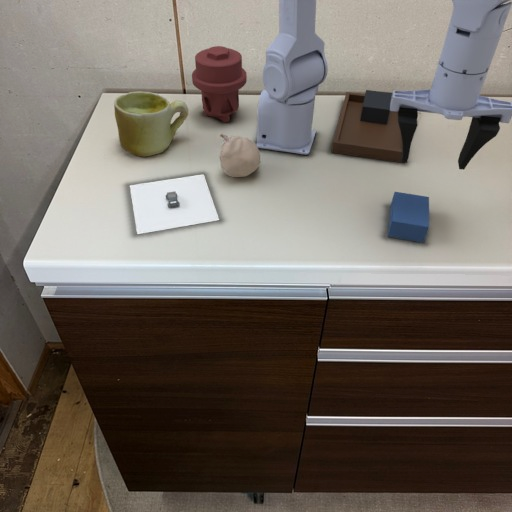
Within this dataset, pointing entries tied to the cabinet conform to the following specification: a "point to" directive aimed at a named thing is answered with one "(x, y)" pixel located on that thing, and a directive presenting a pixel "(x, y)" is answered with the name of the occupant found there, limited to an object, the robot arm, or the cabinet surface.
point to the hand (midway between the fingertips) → (432, 161)
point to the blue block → (409, 217)
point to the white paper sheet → (172, 203)
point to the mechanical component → (219, 80)
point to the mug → (147, 122)
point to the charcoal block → (376, 107)
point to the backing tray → (366, 133)
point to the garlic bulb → (239, 156)
